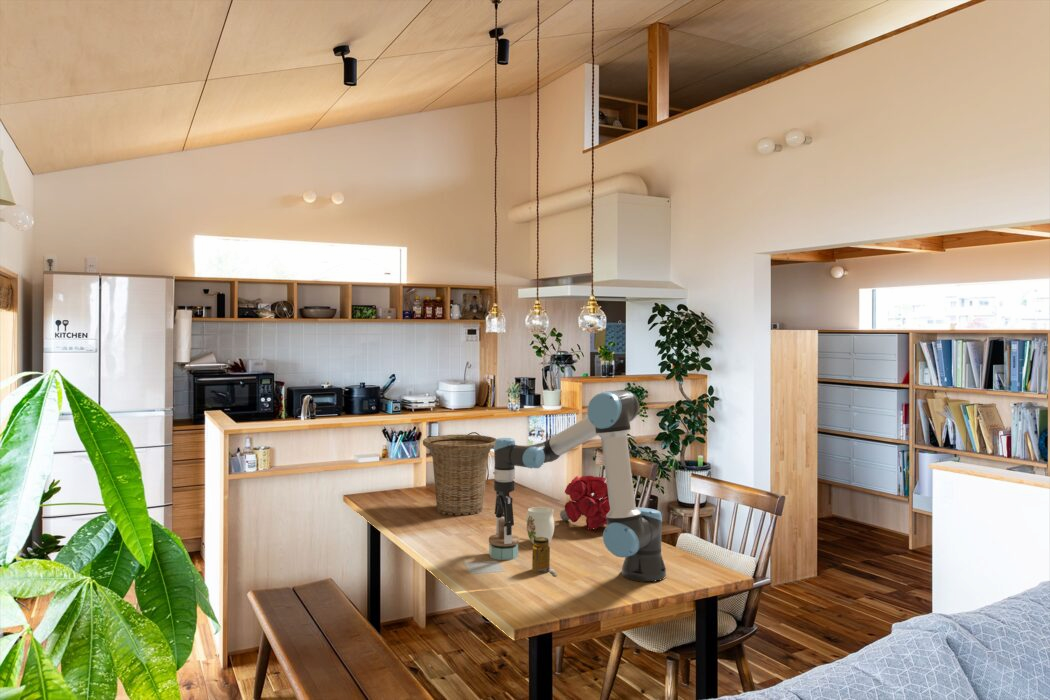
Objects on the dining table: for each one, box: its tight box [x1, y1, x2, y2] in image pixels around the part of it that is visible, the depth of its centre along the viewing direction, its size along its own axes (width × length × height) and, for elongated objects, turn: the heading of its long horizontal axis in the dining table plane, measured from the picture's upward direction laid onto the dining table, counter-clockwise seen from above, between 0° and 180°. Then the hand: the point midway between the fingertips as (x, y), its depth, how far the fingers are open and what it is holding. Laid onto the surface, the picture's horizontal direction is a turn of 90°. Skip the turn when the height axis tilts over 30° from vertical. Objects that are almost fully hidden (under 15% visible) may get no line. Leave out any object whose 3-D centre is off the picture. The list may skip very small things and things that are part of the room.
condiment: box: [531, 537, 557, 576], centre depth 253 cm, size 7×8×12 cm
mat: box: [463, 560, 506, 575], centre depth 257 cm, size 12×12×1 cm
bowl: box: [488, 543, 519, 561], centre depth 270 cm, size 10×10×5 cm
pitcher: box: [526, 506, 555, 545], centre depth 291 cm, size 11×18×14 cm, turn 31°
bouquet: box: [559, 475, 610, 530], centre depth 315 cm, size 22×24×30 cm
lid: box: [488, 519, 520, 546], centre depth 270 cm, size 11×11×8 cm
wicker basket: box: [422, 434, 497, 516], centre depth 341 cm, size 35×35×33 cm
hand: (503, 539), depth 270 cm, fingers closed on lid, 11 cm apart
